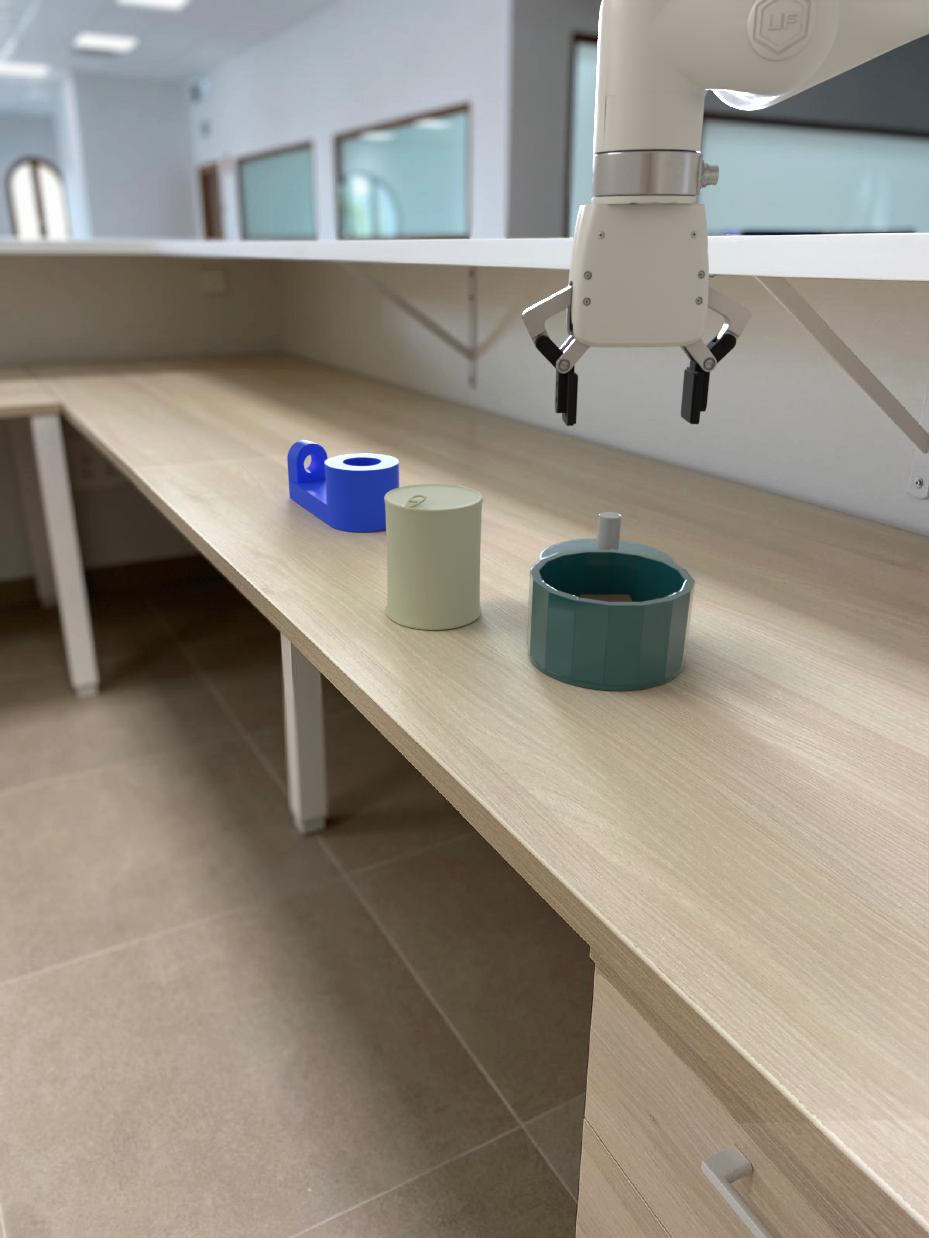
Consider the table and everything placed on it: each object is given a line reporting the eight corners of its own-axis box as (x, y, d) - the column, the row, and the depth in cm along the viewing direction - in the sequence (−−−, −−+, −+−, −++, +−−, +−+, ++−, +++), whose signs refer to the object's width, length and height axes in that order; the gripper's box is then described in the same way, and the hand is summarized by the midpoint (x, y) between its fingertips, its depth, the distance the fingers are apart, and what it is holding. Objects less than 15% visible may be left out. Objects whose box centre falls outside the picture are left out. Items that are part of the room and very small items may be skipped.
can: (366, 616, 89) (363, 494, 84) (421, 587, 96) (420, 474, 91) (447, 638, 84) (448, 510, 80) (498, 606, 92) (501, 487, 87)
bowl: (663, 624, 88) (671, 549, 85) (702, 690, 76) (713, 605, 73) (520, 624, 87) (523, 549, 85) (536, 691, 75) (540, 605, 72)
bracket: (413, 523, 116) (413, 463, 113) (351, 536, 111) (349, 474, 108) (333, 490, 131) (331, 436, 128) (275, 500, 125) (271, 444, 122)
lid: (656, 548, 109) (662, 497, 106) (688, 593, 95) (695, 536, 93) (532, 548, 108) (535, 496, 106) (547, 593, 95) (550, 535, 92)
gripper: (746, 185, 71) (723, 412, 77) (519, 186, 70) (516, 414, 77) (781, 180, 64) (752, 430, 70) (529, 181, 63) (524, 433, 70)
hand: (629, 421), depth 73 cm, fingers open, 9 cm apart
